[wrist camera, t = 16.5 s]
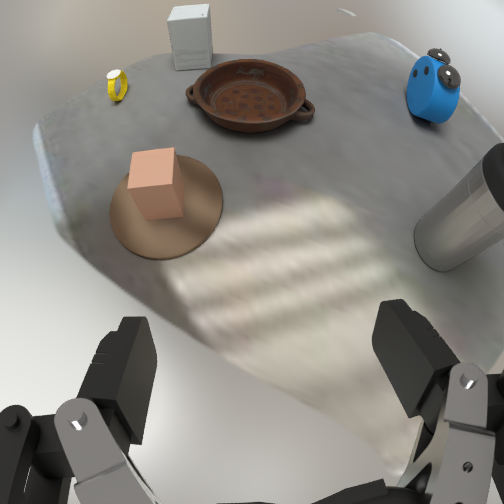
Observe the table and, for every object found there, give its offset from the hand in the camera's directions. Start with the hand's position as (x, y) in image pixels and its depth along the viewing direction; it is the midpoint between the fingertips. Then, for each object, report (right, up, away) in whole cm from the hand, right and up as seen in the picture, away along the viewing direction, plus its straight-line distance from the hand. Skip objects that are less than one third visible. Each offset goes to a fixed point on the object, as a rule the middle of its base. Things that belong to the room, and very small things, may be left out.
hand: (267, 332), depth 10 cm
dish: (-1, +28, +39) cm, 48 cm away
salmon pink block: (-12, +10, +30) cm, 34 cm away
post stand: (-12, +9, +31) cm, 35 cm away
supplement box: (-12, +42, +44) cm, 62 cm away
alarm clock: (+34, +32, +42) cm, 63 cm away
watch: (-26, +33, +39) cm, 57 cm away
